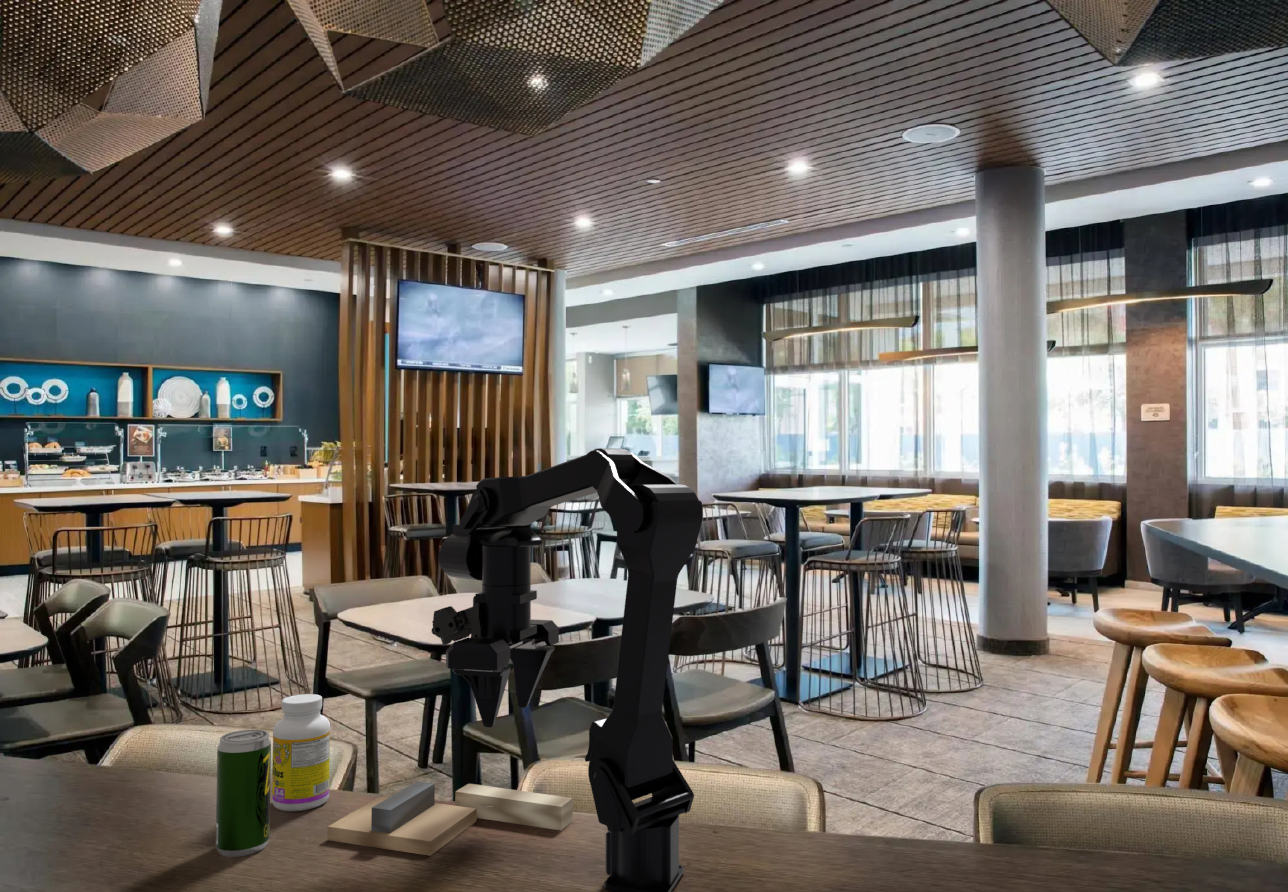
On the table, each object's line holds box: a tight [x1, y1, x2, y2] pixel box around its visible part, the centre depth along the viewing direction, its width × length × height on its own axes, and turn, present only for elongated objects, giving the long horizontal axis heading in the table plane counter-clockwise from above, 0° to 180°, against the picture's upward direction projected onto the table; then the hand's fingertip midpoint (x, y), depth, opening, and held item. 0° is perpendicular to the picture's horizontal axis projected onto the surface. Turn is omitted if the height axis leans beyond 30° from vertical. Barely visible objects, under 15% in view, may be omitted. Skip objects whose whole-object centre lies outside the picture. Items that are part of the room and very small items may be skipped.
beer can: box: [215, 729, 272, 858], centre depth 98 cm, size 5×5×12 cm
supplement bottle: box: [271, 693, 331, 812], centre depth 111 cm, size 7×7×13 cm
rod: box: [454, 783, 574, 831], centre depth 106 cm, size 14×3×3 cm, turn 70°
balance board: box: [327, 780, 478, 856], centre depth 102 cm, size 13×10×4 cm
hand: (506, 716), depth 106 cm, fingers open, 9 cm apart
